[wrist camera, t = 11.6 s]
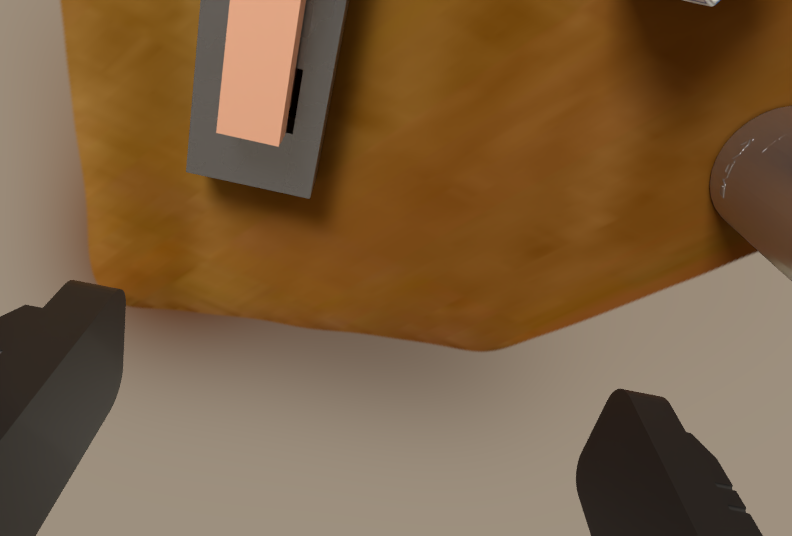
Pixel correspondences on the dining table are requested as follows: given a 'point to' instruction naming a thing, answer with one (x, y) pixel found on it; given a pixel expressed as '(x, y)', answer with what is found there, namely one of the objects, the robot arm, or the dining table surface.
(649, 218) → the dining table surface
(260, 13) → the block
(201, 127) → the rail
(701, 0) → the medicine box
